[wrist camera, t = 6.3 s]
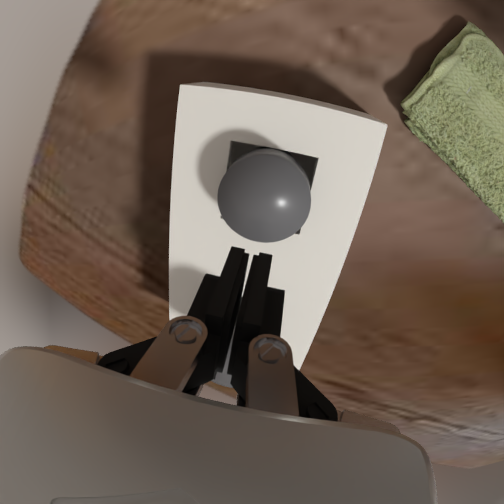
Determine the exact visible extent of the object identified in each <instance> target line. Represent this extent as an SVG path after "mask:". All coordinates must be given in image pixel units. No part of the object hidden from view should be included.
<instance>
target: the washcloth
mask: <svg viewBox="0 0 504 504" xmlns="http://www.w3.org/2000/svg"><path fill="white" fill-rule="evenodd" d="M401 106H402V108H403V109H404V111H403V112H402V113H404V114H405V115H407V116H408V118H407V119H406V120H405V121H404V122H405V123H406V125H407V126H408V127H409V130H411V131H412V132H413V134H415V135H416V136H417V137H418V138H419V140H420V141H423V142H424V143H426V144H427V145H428V146H429V147H430V148H431V150H432V151H433V152H435V154H437V155H438V156H439V157H440V158H441V160H444V161H445V163H447V164H448V165H449V167H450V168H451V169H452V170H453V171H454V172H455V173H456V174H457V175H458V177H460V178H462V179H463V181H464V182H465V183H466V185H467V186H468V187H469V188H470V189H471V190H473V191H474V193H475V195H476V196H477V197H480V198H481V200H482V201H483V202H484V204H485V205H486V206H488V207H489V208H490V209H491V210H492V212H493V213H494V214H496V215H497V216H498V217H499V219H501V220H502V222H503V223H504V55H503V54H502V52H501V51H500V50H499V49H498V48H497V46H496V45H495V44H494V42H492V40H491V39H489V38H488V37H487V36H486V35H485V33H483V31H482V30H481V29H479V28H478V27H477V26H475V25H474V24H473V23H471V22H467V25H466V26H465V27H464V29H462V31H461V32H460V33H459V34H458V35H457V36H456V37H455V38H454V39H453V40H451V42H449V43H448V44H447V45H446V47H444V48H443V49H442V51H440V53H439V54H438V55H437V56H436V58H435V60H434V61H433V63H432V65H431V67H430V70H429V71H428V72H427V73H426V74H425V76H424V77H423V78H422V79H421V81H420V82H419V83H418V84H417V86H416V87H415V88H414V89H413V91H412V92H411V93H410V94H409V95H408V96H407V97H406V98H405V99H404V100H403V101H402V102H401Z"/></svg>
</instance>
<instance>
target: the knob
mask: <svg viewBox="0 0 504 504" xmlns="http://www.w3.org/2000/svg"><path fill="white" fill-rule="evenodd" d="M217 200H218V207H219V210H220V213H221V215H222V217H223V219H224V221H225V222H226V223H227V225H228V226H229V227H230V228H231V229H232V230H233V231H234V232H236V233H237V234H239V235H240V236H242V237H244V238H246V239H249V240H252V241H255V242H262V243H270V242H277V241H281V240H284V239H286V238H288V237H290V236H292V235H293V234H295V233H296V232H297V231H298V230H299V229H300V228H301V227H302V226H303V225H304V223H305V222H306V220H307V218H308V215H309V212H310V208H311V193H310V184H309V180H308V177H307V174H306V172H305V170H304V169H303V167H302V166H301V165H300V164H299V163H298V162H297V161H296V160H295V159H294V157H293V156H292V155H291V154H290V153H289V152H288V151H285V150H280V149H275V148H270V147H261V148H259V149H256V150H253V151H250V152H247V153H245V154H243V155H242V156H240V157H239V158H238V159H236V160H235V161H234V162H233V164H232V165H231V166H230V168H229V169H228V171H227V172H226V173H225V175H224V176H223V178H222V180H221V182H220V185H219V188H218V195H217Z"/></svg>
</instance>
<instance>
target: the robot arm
mask: <svg viewBox="0 0 504 504" xmlns="http://www.w3.org/2000/svg"><path fill="white" fill-rule="evenodd" d="M272 256H273V255H271V254H267V253H262V252H259V255H253V258H252V262H251V266H250V270H249V274H248V278H247V281H246V285H245V289H244V293H243V297H242V292H243V287H244V281H245V276H246V270H247V265H248V259H249V253H245V249H243V248H238V247H234V246H232V247H231V249H230V251H229V254H228V257H227V259H226V262H225V264H224V267H223V270H222V272H221V275H220V276H216V275H212V274H207V273H206V274H205V276H204V278H203V280H202V282H201V284H200V287H199V289H198V291H197V293H196V296H195V298H194V300H193V303H192V305H191V307H190V309H189V312H188V314H187V316H179V317H175V318H173V319H171V320H170V321H169V322H168V323H167V324H166V325H165V327H164V328H163V329H162V331H161V332H160V334H159V335H158V336H157V337H154V338H151V339H148V340H146V341H143V342H140V343H137V344H134V345H131V346H128V347H125V348H122V349H119V350H116V351H113V352H110V353H108V354H106V355H104V356H100V355H99V353H98V352H92V351H85V350H79V349H73V348H67V347H61V346H56V345H49V346H46V347H44V348H41V347H28V346H23V347H15V348H12V349H9V350H7V351H5V352H4V353H3V354H1V355H0V504H438V503H437V492H436V484H435V478H434V473H433V469H432V465H431V461H430V458H429V456H428V454H427V452H426V451H425V449H424V448H423V447H422V446H421V445H420V444H419V443H417V442H416V441H415V440H413V439H411V438H409V437H407V436H405V435H403V434H401V433H400V430H399V429H398V428H397V427H396V426H395V425H393V424H391V423H389V422H385V421H382V420H378V419H375V418H371V417H368V416H364V415H361V414H358V413H354V412H351V411H348V410H345V409H344V410H343V412H342V411H339V410H336V408H335V407H334V406H333V404H332V403H331V402H330V401H329V400H328V399H327V398H326V397H325V396H324V395H323V394H322V393H321V392H320V391H319V390H318V389H317V388H316V387H315V386H314V385H313V384H312V383H311V382H310V381H309V380H308V379H307V378H306V377H305V376H304V375H303V374H302V373H301V372H300V371H299V370H298V369H297V368H296V367H295V366H294V363H293V355H292V350H291V347H290V345H289V344H288V343H287V341H285V340H284V339H283V338H281V337H280V335H281V326H282V317H283V307H284V297H285V290H281V289H277V288H272V287H267V286H268V280H269V274H270V268H271V262H272ZM241 298H242V300H241ZM240 303H241V304H240ZM235 324H236V325H235ZM234 327H235V330H234ZM233 331H234V336H233V341H232V347H231V353H230V358H229V364H228V370H227V374H229V375H232V377H231V382H230V384H231V385H232V387H233V388H234V389H235V390H236V392H237V393H238V394H237V405H231V404H226V403H222V402H218V401H213V400H210V399H205V398H201V397H198V396H199V395H200V393H201V390H202V388H203V384H205V383H207V382H209V381H211V380H213V379H215V378H216V374H217V372H220V373H222V372H223V369H224V365H225V361H226V358H227V354H228V350H229V346H230V342H231V339H232V335H233Z"/></svg>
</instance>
